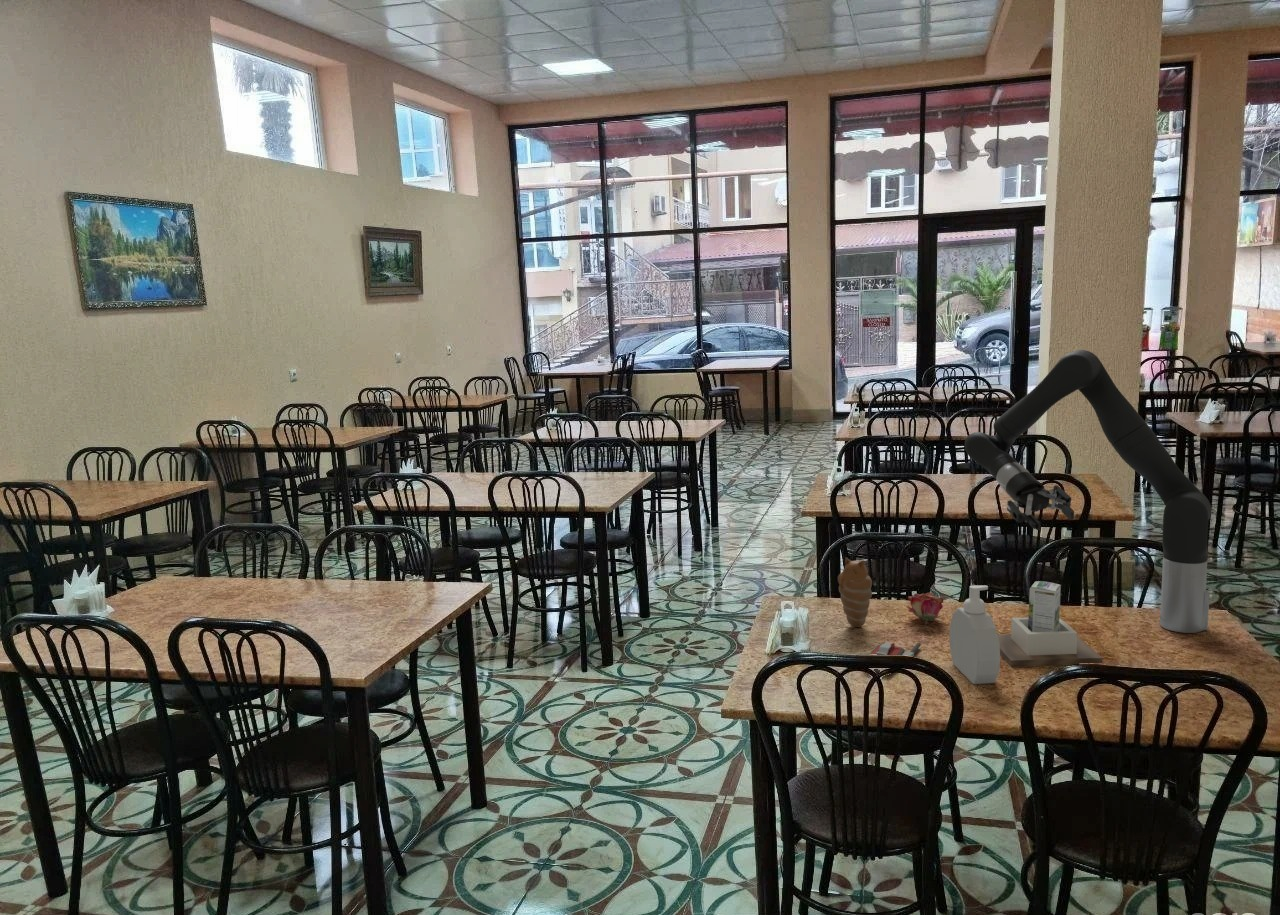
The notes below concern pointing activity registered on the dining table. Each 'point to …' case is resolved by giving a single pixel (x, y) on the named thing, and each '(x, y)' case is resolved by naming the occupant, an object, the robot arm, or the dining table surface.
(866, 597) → the cat ice cream
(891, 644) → the walkie-talkie
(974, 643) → the soap bottle
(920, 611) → the flower
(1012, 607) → the dining table surface
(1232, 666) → the dining table surface
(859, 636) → the dining table surface
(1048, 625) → the syrup box
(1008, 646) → the walnut stand
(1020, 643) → the white open square box
